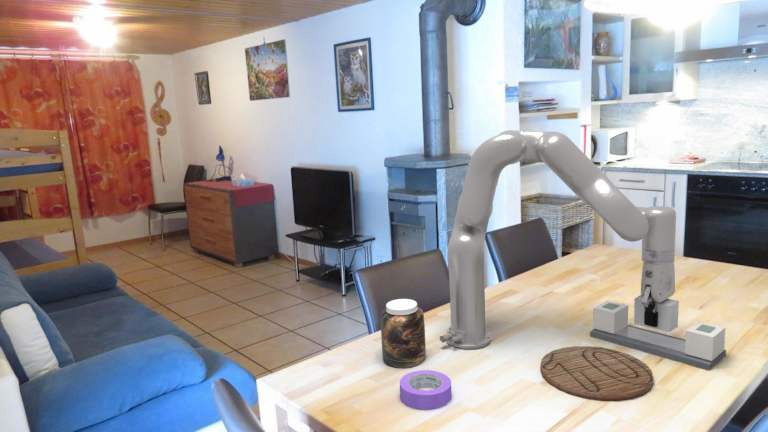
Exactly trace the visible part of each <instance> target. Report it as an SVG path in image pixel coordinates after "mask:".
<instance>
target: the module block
mask: <svg viewBox="0 0 768 432" xmlns="http://www.w3.org/2000/svg"><path fill="white" fill-rule="evenodd" d="M642 299H643V298H642V297H641V294H640V295H638V296H636V297H634V305H633V307H634V312H633V315H634V316H633V324H634V325H639V326H641V327H646V328H651V329H653V330H658V331H663V332H665V333H671V332H672V331H674V330H675V329H677V328H678V327H679V326H678V325H679V305H680V304H679V303H680V302H679V301H680V300H676V299H671V298H668V299H666V300H664V301H662V302H660V303H659V302H658V305H657V311H656V312H658V326H657V327H652V326H648V325H645V324H644V306H643V305H642V303H641V302H642ZM650 299H653V297H650ZM653 300H654V299H653ZM649 302H650V301H649ZM650 304H652V305H654V302H650Z"/></svg>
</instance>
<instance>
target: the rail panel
mask: <svg viewBox="0 0 768 432" xmlns="http://www.w3.org/2000/svg"><path fill="white" fill-rule="evenodd" d="M589 332H590V333H589V337H591V338H595V339H598V340H602V341H604V342H605V341H606V342H608V343H613V344H615V345H619V346H623V347H626V348H629V349H633V350H636V351H640V352H643V353H647V354H650V355H653V356H656V357H660V358H664V359H668V360H671V361H674V362H677V363H682V364H684V365H688V366H691V367H695V368H698V369H703V370H706V371H711V370H712V369H713V368H714V366H716V365H717V364H718V363H719V362H721V360H722V359H724V358H725V357H726V355H727V350H726V349H724V351H723V352H722V353H721V354H719V355H718V356H717V357H716V358H715V359H714V360H713V361H710V360H706V359H703V358H699V357H695V356H692V355H688V354H685V343H686V338H681V337H676V336H675V335H674V336H672V335H669V334H666V333H662V332H658V331H653V330H650V329H645V328H642V327H638V326H634V325H629V324H628V326H626V327H625V328H623V329H621V330H620V331H618V332H616V333H615V334H612V333H608V332H605V331H601V330H597V329H594V328H592V330H590V331H589Z"/></svg>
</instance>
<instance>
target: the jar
mask: <svg viewBox="0 0 768 432" xmlns="http://www.w3.org/2000/svg"><path fill="white" fill-rule="evenodd" d="M385 304H386V305H385V309H383V310H382V311H381V313H380V335H381V336H380V337H381V339H380V340H381V356H382V361H383V363H384V364H385V365H386V366H388V367H391V368H396V369H397V368H398V369H409V368H413V367H417V366H419V365H421V364H423V363H424V362H425V361H426V357H427V351H426V349H427V348H426V328H425V313H424V311H423V309H422V308H420V307H419V306H418V303H417V301H416V300H414V299H410V298H398V299H392V300H390V301H388V302H386V303H385Z"/></svg>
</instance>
